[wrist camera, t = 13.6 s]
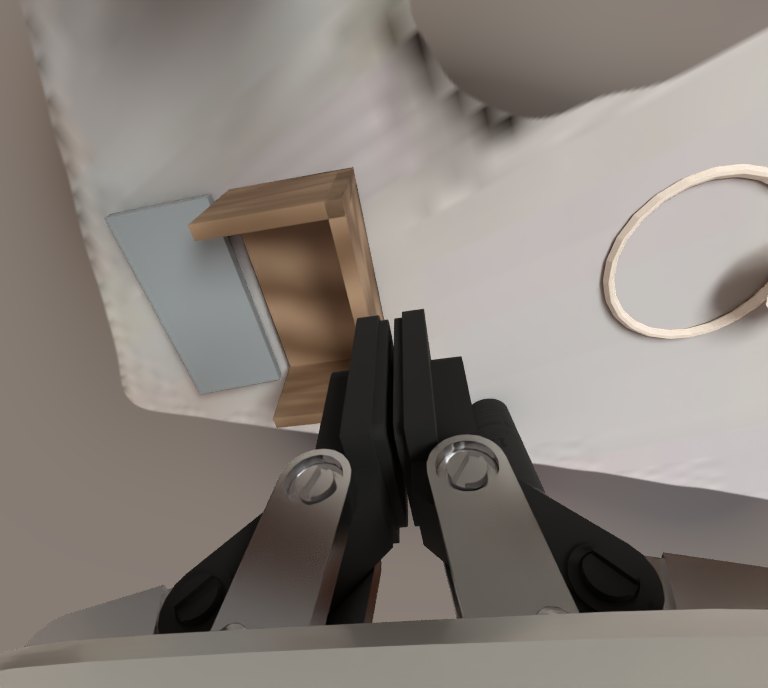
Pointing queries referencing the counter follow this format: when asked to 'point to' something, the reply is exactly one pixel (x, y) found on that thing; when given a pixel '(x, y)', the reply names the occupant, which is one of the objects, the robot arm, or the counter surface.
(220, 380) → the panel
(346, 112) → the counter surface
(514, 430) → the drinking cup
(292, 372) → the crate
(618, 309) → the hand towel holder
